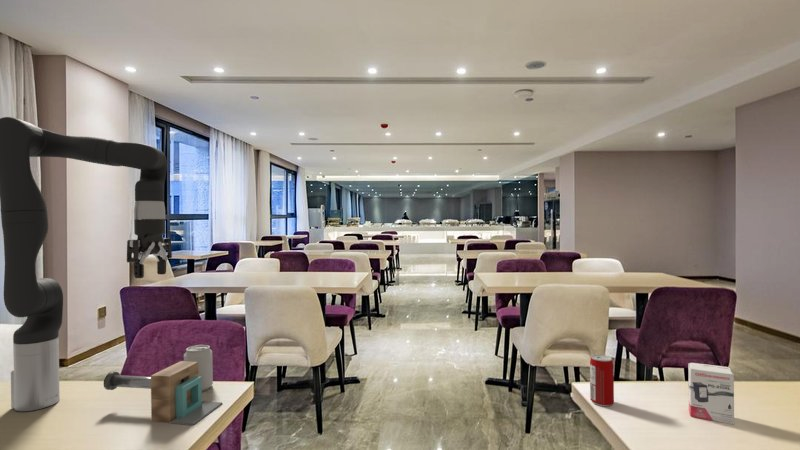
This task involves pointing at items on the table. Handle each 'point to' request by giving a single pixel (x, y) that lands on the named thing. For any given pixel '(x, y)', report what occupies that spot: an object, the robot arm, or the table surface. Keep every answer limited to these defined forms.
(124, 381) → the shaft
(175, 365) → the bearing block
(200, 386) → the spacer
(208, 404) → the mat
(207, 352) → the can
